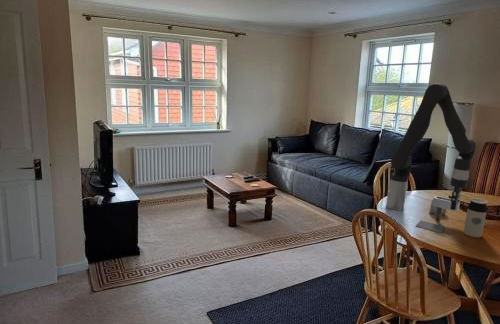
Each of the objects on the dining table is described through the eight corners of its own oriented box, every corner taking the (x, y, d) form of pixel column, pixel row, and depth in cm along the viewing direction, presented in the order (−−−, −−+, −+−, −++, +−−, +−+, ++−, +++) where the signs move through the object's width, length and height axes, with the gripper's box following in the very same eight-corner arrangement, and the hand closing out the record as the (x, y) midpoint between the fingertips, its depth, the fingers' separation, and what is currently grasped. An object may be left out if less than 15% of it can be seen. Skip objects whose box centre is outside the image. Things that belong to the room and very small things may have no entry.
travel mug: (464, 229, 187) (470, 196, 182) (482, 234, 182) (489, 200, 178) (461, 234, 181) (468, 200, 176) (480, 239, 176) (487, 204, 172)
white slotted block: (431, 205, 196) (433, 197, 195) (434, 203, 200) (435, 195, 199) (456, 211, 188) (458, 203, 187) (458, 208, 193) (460, 200, 192)
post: (435, 220, 198) (437, 205, 196) (435, 219, 199) (438, 204, 197) (439, 221, 196) (441, 206, 194) (439, 220, 198) (442, 205, 196)
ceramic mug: (445, 217, 203) (447, 204, 202) (429, 214, 207) (431, 201, 205) (445, 211, 213) (447, 199, 211) (429, 209, 216) (431, 196, 215)
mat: (415, 226, 189) (415, 225, 189) (420, 220, 197) (420, 220, 197) (440, 232, 182) (440, 232, 182) (444, 226, 189) (445, 226, 189)
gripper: (454, 173, 195) (448, 202, 199) (448, 178, 184) (443, 209, 188) (470, 176, 191) (464, 206, 195) (465, 181, 180) (459, 213, 184)
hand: (453, 207), depth 192 cm, fingers closed on white slotted block, 5 cm apart
